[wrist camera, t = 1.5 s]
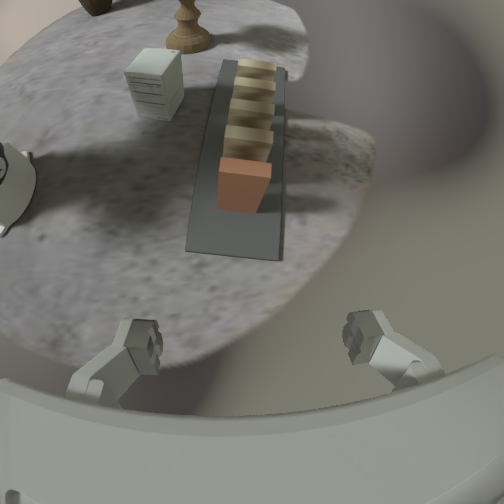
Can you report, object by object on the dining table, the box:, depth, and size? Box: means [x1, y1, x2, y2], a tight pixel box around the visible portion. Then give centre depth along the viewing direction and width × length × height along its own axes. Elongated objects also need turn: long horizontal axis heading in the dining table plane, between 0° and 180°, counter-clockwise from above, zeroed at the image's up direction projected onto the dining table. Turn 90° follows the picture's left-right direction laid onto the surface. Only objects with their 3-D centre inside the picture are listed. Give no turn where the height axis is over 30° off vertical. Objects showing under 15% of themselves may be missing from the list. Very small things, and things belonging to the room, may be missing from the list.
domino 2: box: [232, 76, 276, 104], centre depth 40 cm, size 6×2×12 cm, turn 86°
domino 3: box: [228, 98, 275, 130], centre depth 39 cm, size 6×2×12 cm, turn 86°
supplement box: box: [124, 48, 185, 121], centre depth 39 cm, size 7×7×13 cm
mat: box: [185, 59, 285, 261], centre depth 46 cm, size 14×44×1 cm, turn 176°
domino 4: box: [223, 125, 273, 163], centre depth 37 cm, size 6×2×12 cm, turn 86°
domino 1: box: [236, 58, 277, 82], centre depth 41 cm, size 6×2×12 cm, turn 86°
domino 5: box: [217, 157, 272, 213], centre depth 36 cm, size 6×2×12 cm, turn 86°
